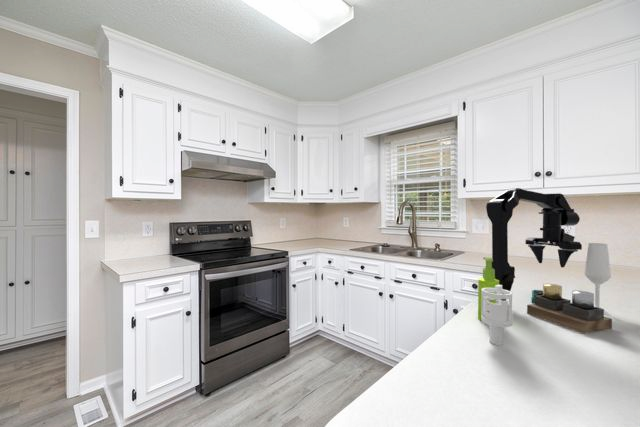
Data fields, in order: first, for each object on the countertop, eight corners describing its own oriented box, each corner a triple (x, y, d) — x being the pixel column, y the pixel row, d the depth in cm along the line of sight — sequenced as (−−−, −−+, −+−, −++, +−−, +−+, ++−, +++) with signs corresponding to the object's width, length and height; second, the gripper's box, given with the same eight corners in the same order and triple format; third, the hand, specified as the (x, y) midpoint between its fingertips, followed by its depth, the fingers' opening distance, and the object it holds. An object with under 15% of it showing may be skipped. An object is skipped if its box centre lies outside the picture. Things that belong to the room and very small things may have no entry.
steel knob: (586, 308, 86) (586, 295, 86) (568, 303, 91) (568, 291, 91) (598, 307, 88) (598, 294, 88) (579, 302, 93) (579, 289, 93)
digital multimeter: (554, 298, 119) (554, 291, 119) (555, 308, 107) (555, 300, 107) (531, 295, 123) (531, 288, 123) (531, 304, 112) (531, 296, 112)
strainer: (514, 342, 78) (514, 286, 78) (508, 351, 73) (508, 291, 73) (485, 334, 83) (485, 282, 83) (477, 342, 78) (478, 286, 78)
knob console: (583, 333, 84) (584, 312, 84) (527, 313, 100) (527, 296, 100) (611, 328, 87) (612, 308, 87) (552, 310, 104) (552, 293, 104)
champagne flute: (589, 307, 107) (590, 242, 106) (614, 313, 101) (615, 244, 100) (580, 310, 104) (581, 243, 104) (605, 316, 98) (605, 245, 98)
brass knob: (554, 300, 95) (554, 287, 95) (539, 295, 100) (539, 284, 100) (565, 298, 96) (565, 286, 96) (549, 294, 101) (550, 283, 101)
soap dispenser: (495, 316, 97) (496, 257, 97) (501, 324, 91) (501, 260, 90) (476, 314, 99) (476, 256, 99) (480, 321, 93) (480, 259, 92)
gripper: (594, 227, 106) (593, 269, 106) (547, 224, 125) (546, 260, 125) (569, 226, 105) (568, 270, 105) (524, 224, 123) (524, 261, 123)
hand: (551, 265), depth 114 cm, fingers open, 9 cm apart
